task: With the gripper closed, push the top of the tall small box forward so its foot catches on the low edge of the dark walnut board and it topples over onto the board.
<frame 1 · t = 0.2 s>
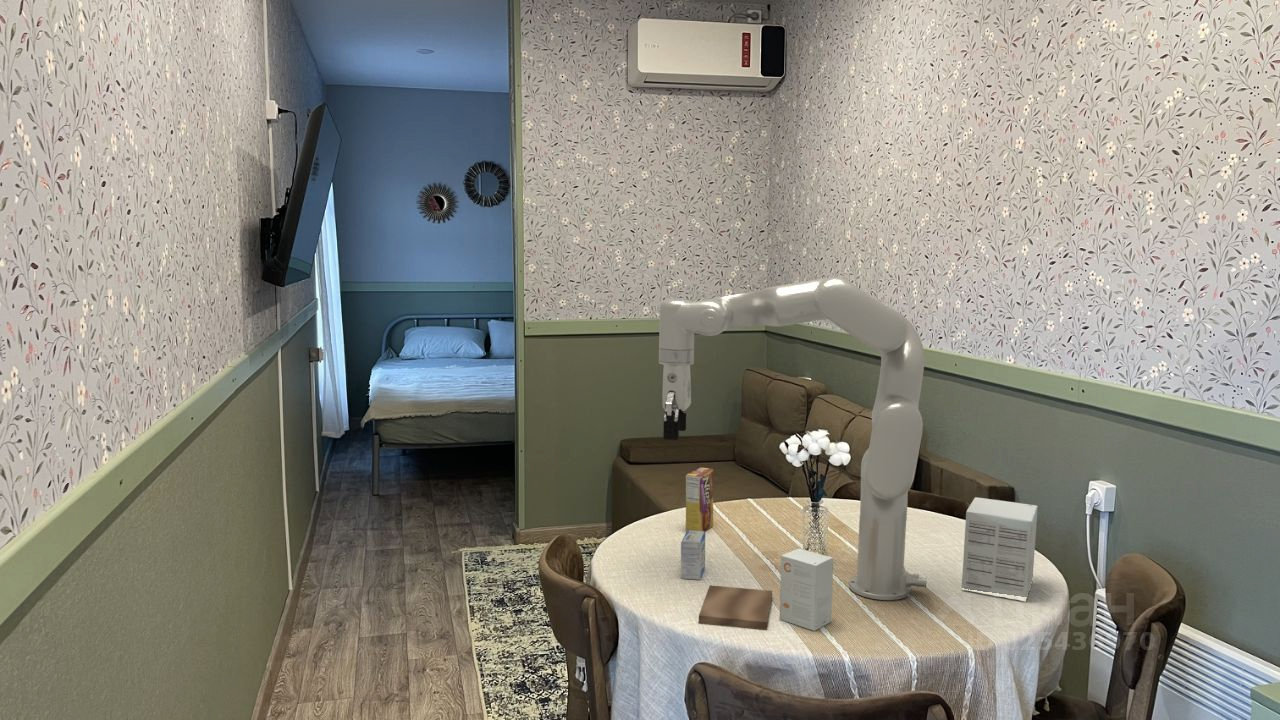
hand: (674, 434, 196), 31 cm above the table, tool pointing down, fingers open, 9 cm apart
candy box: (699, 530, 230), on the table
walnut board: (736, 610, 179), on the table
medicine box: (692, 574, 199), on the table
small box: (805, 621, 175), on the table
supplement box: (997, 587, 194), on the table
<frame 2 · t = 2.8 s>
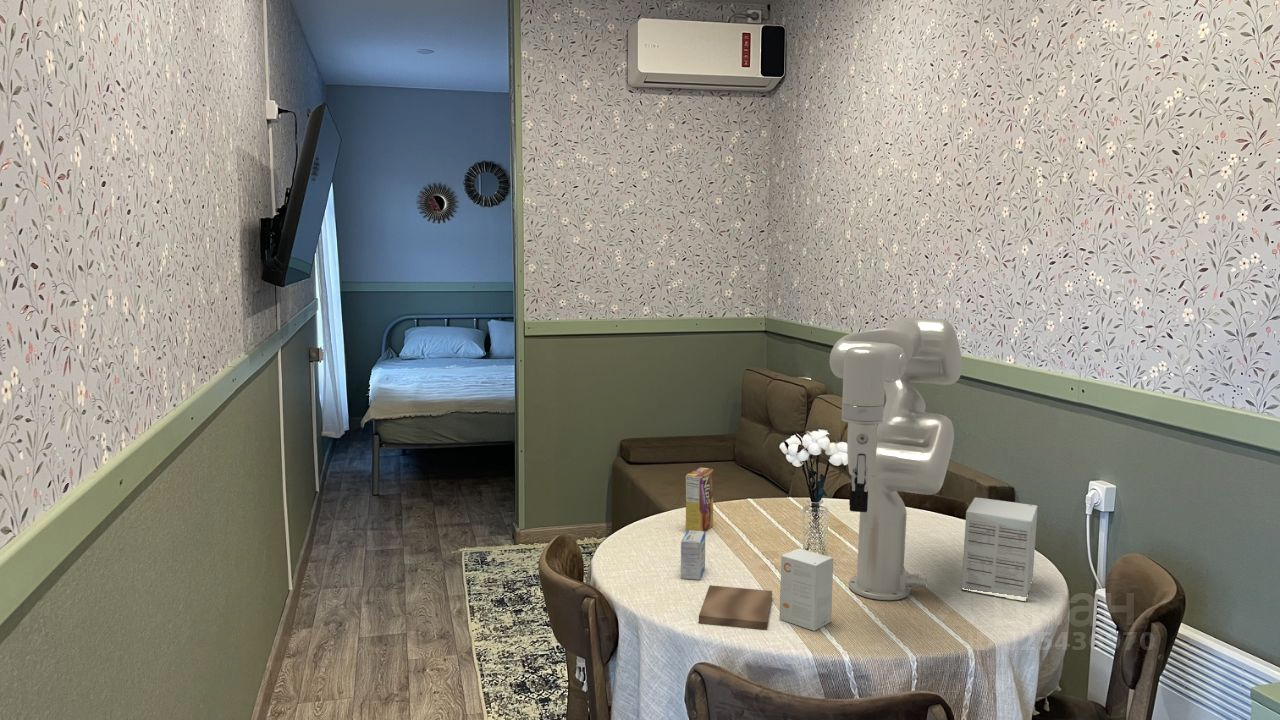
hand: (858, 508, 170), 23 cm above the table, tool pointing down, fingers closed
nothing on the table moved.
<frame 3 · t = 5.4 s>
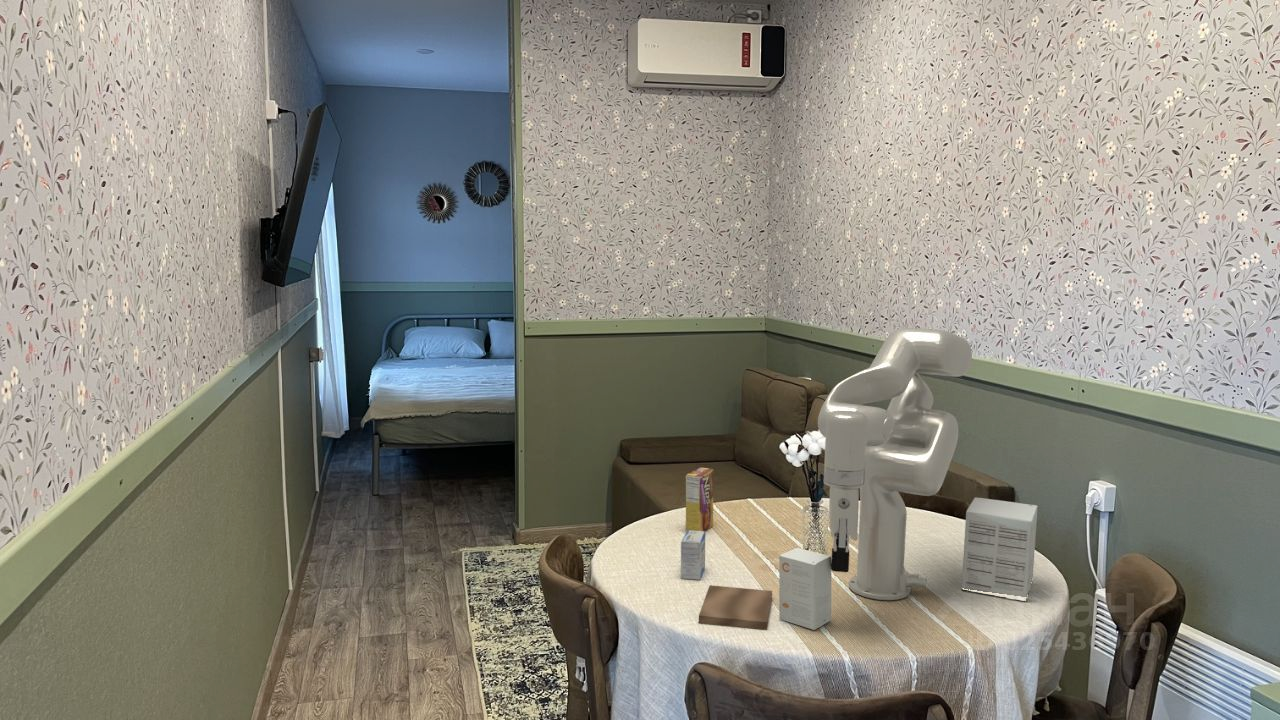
hand: (839, 570, 172), 11 cm above the table, tool pointing down, fingers closed
small box: (805, 621, 175), on the table, touching gripper
everything else where it was.
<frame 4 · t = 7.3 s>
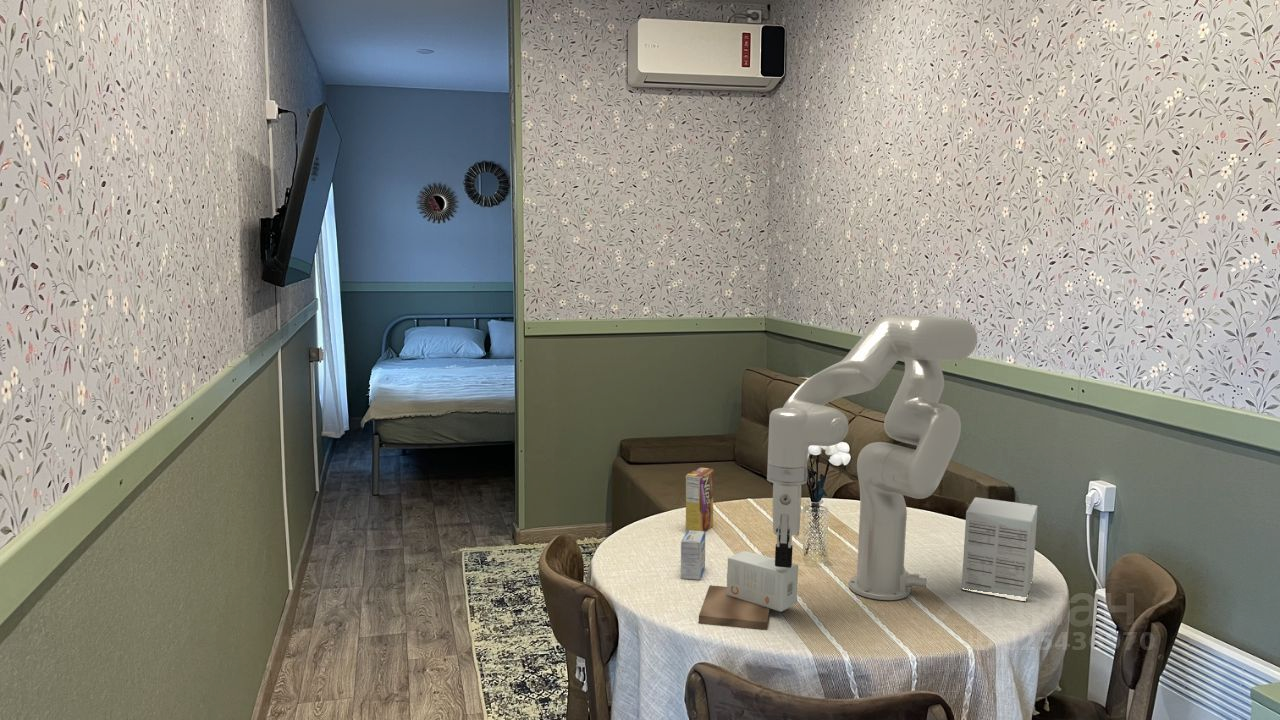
hand: (783, 565, 174), 11 cm above the table, tool pointing down, fingers closed
small box: (791, 588, 176), point 5 cm above the table, touching walnut board
everything else where it was.
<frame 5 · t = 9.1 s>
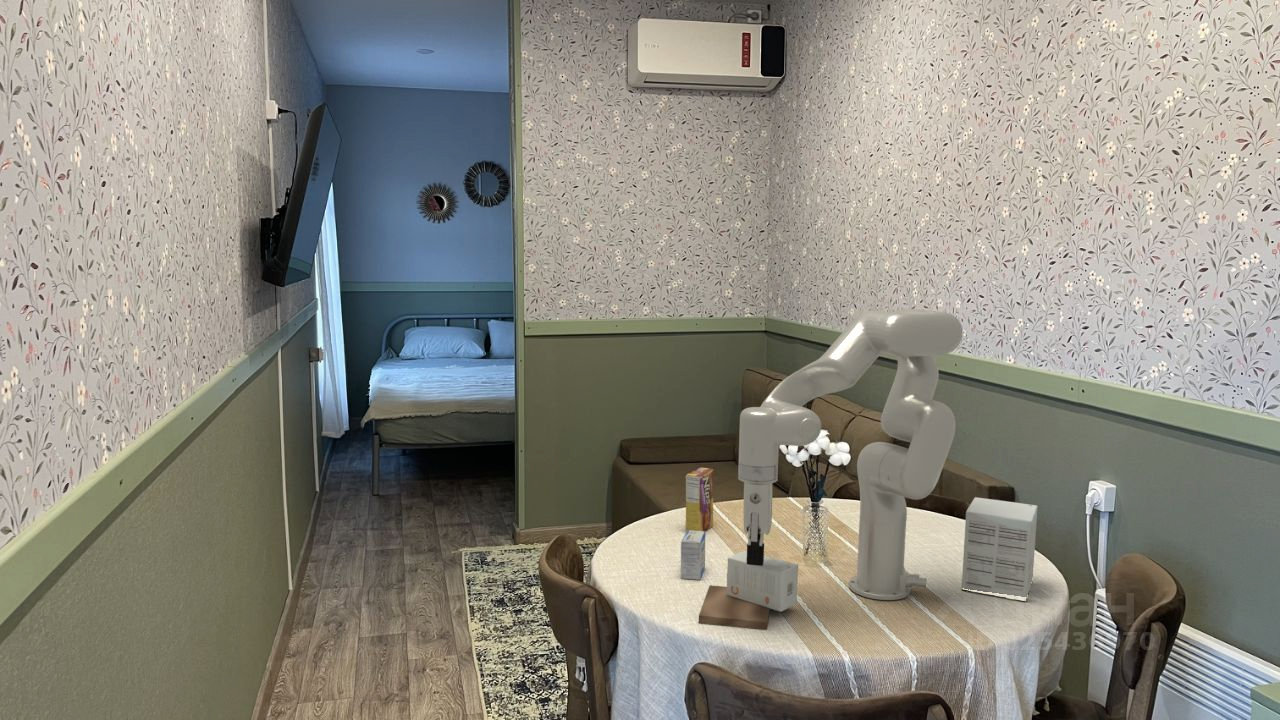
hand: (755, 563, 175), 11 cm above the table, tool pointing down, fingers closed
nothing on the table moved.
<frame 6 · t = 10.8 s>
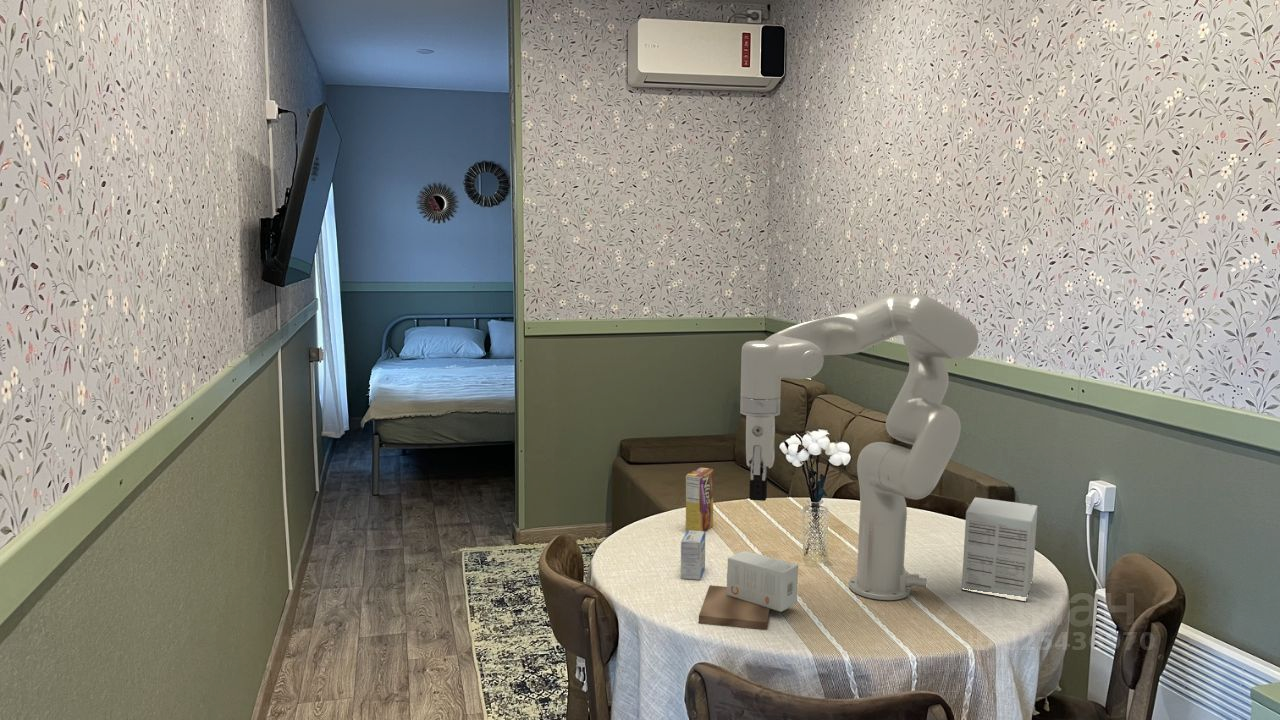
hand: (758, 499, 174), 24 cm above the table, tool pointing down, fingers closed
nothing on the table moved.
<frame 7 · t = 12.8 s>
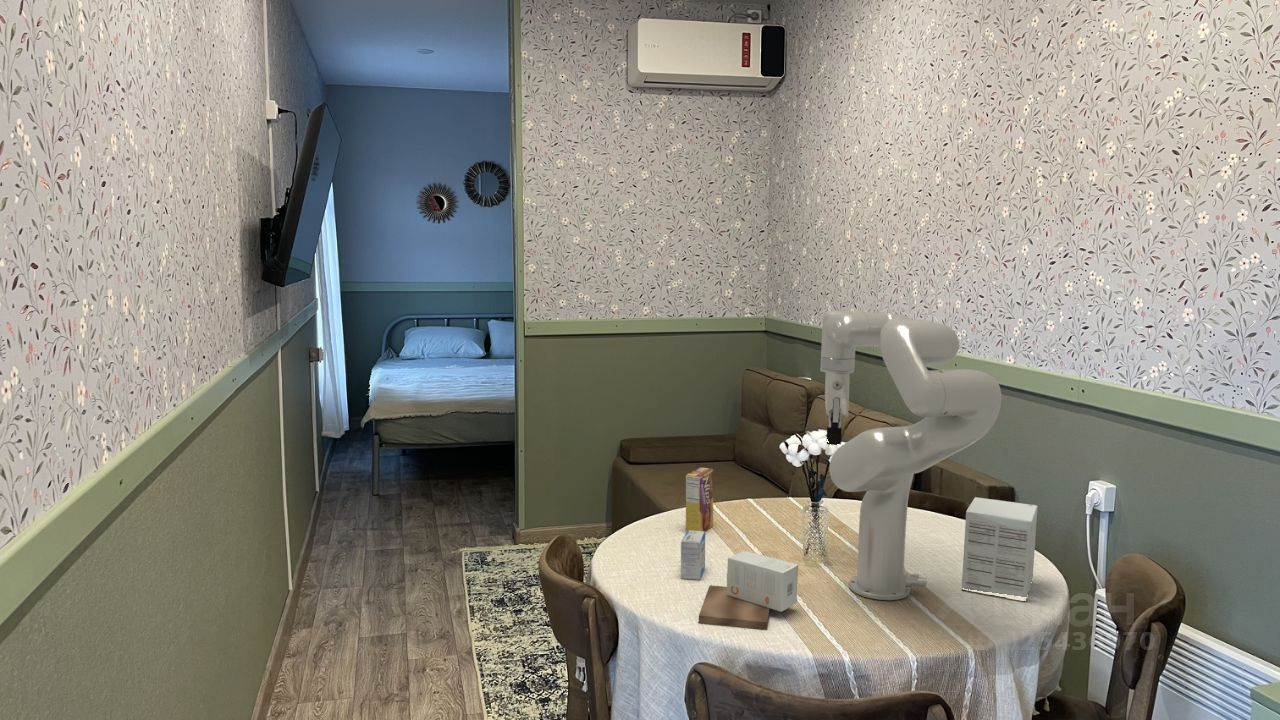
hand: (833, 443, 206), 27 cm above the table, tool pointing down, fingers closed
nothing on the table moved.
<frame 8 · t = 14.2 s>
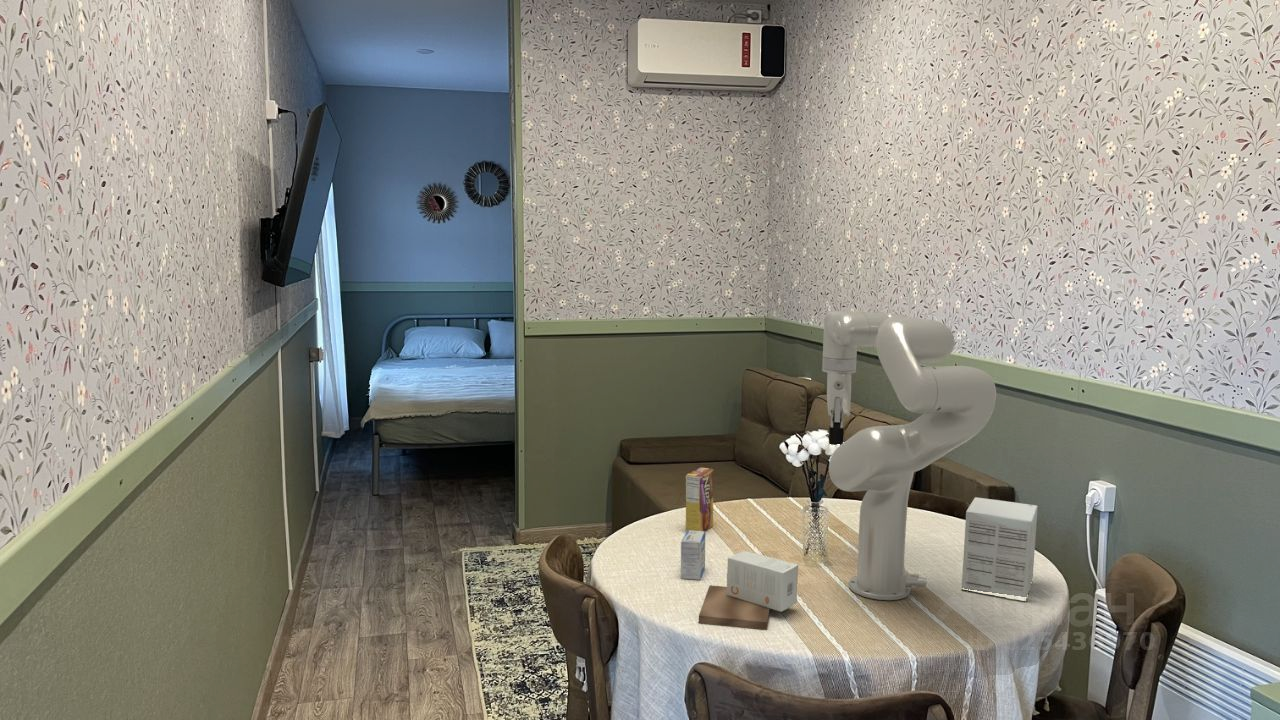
hand: (835, 444, 207), 27 cm above the table, tool pointing down, fingers closed
nothing on the table moved.
at the end: small box tilted 89°; small box touching walnut board; small box inside the target area (7.3 cm from its centre), point 5.5 cm above the table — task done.
